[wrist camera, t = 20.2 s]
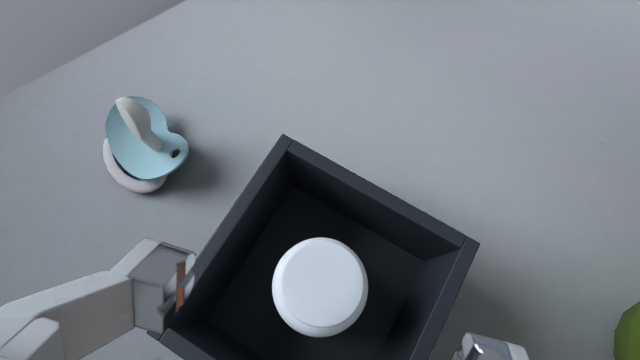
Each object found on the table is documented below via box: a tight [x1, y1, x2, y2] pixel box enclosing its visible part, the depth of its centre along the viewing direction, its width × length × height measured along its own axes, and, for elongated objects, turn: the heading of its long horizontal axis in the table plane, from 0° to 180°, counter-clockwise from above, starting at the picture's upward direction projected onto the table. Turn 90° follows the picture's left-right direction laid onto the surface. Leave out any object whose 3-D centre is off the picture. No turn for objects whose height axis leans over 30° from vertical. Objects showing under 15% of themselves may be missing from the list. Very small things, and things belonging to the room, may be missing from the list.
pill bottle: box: [272, 237, 368, 337], centre depth 21 cm, size 5×5×9 cm
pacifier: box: [103, 96, 189, 193], centre depth 26 cm, size 7×6×6 cm
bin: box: [147, 134, 480, 360], centre depth 23 cm, size 13×13×8 cm
